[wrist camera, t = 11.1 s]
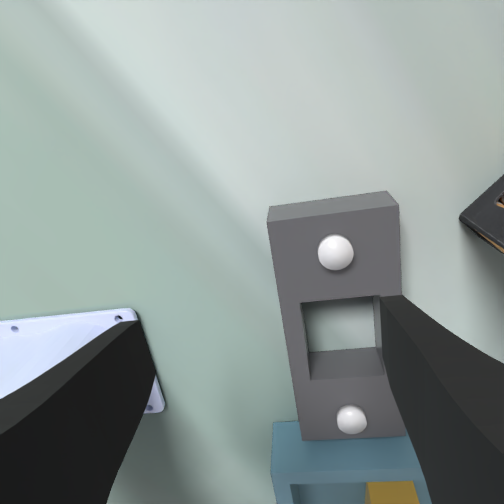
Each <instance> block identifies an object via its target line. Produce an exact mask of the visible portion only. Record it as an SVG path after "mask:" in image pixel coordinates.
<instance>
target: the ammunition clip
mask: <svg viewBox="0 0 504 504" xmlns="http://www.w3.org/2000/svg"><path fill="white" fill-rule="evenodd" d="M459 219H460V220H461V221H462V222H463V223H464V224H465V225H466V226H468V227H469V228H470V229H471V230H472V231H473V232H474V233H475V234H477V235H478V236H479V237H480V238H481V239H482V240H484V241H485V242H487V243H488V244H490V245H491V246H493V247H494V248H496V249H497V250H499V251H500V252H501V253H503V254H504V175H503V176H501V177H500V178H499V179H498V180H497V181H496V182H495V183H494V184H493V185H492V186H490V187H489V188H488V189H487V190H486V191H485V192H484V193H483V194H482V195H481V196H479V197H478V198H477V199H476V200H475V201H474V202H473V203H472V204H471V205H470V206H468V207H467V208H466V209H465V210H464V211H463V212H462V213H461V214H460V217H459Z"/></svg>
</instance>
